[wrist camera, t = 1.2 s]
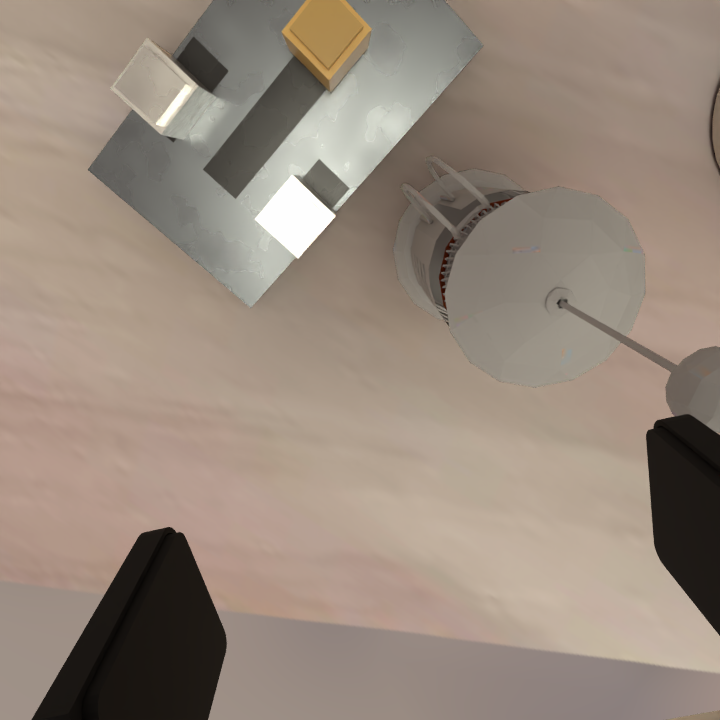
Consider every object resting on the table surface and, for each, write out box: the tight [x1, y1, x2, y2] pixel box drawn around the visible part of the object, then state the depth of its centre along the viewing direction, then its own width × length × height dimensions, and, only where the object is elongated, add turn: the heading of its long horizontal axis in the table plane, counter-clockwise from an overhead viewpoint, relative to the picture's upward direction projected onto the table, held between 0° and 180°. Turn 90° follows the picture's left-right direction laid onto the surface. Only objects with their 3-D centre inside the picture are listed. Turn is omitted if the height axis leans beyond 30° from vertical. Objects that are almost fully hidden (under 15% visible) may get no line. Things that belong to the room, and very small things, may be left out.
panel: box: [88, 0, 484, 308], centre depth 29 cm, size 20×12×6 cm, turn 137°
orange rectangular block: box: [282, 0, 372, 92], centre depth 27 cm, size 3×3×5 cm
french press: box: [393, 156, 720, 433], centre depth 23 cm, size 10×12×25 cm
